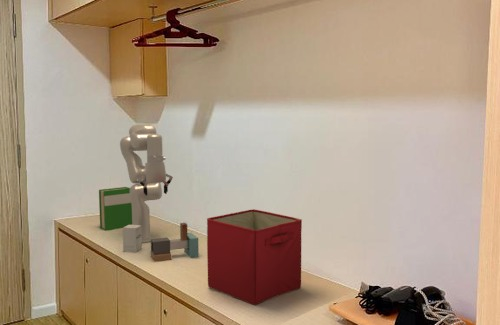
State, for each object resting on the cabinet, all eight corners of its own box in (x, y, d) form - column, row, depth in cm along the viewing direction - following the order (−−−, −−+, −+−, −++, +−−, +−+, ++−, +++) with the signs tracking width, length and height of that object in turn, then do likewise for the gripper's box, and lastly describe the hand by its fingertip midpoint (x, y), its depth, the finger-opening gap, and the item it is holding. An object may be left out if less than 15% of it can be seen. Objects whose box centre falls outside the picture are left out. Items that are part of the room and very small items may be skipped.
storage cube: (306, 289, 207) (307, 218, 204) (259, 308, 188) (259, 230, 185) (249, 271, 230) (249, 207, 227) (202, 287, 210) (201, 217, 207)
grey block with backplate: (150, 256, 254) (150, 238, 253) (166, 254, 257) (166, 236, 256) (154, 261, 245) (154, 242, 244) (171, 259, 248) (171, 241, 247)
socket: (184, 251, 262) (184, 233, 261) (191, 251, 263) (191, 232, 262) (191, 258, 251) (190, 238, 250) (198, 257, 252) (198, 237, 251)
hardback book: (105, 230, 309) (103, 191, 306) (100, 228, 314) (98, 189, 312) (132, 226, 320) (131, 188, 317) (126, 224, 326) (125, 186, 323)
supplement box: (136, 252, 261) (135, 228, 260) (122, 251, 263) (122, 227, 262) (142, 248, 269) (141, 224, 267) (129, 248, 270) (128, 224, 269)
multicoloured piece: (162, 248, 253) (162, 224, 252) (190, 245, 259) (189, 222, 257) (164, 250, 250) (164, 226, 248) (192, 247, 255) (192, 223, 254)
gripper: (170, 158, 261) (170, 191, 262) (135, 159, 254) (136, 194, 256) (174, 159, 254) (174, 194, 255) (138, 161, 247) (139, 196, 249)
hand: (155, 194), depth 256 cm, fingers open, 9 cm apart
